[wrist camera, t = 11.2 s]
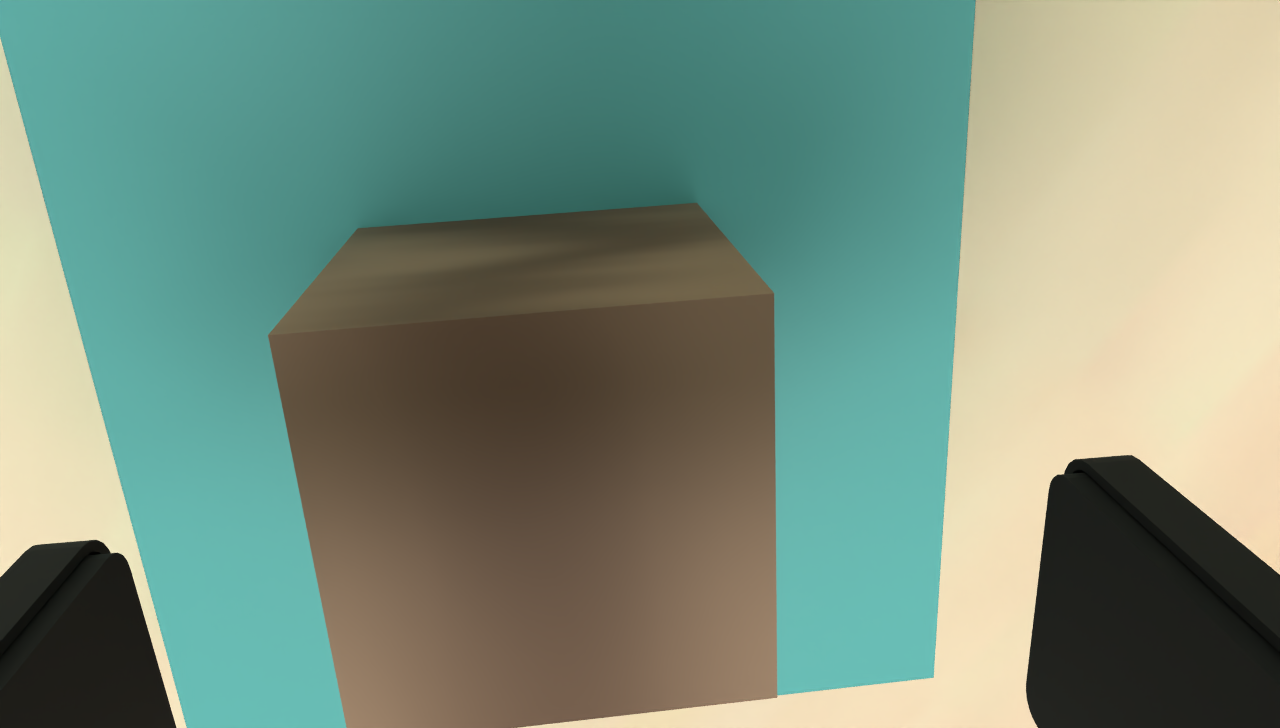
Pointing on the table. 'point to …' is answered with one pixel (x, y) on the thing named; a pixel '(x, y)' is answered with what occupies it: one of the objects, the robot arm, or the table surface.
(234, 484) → the teal base
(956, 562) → the table surface
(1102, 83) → the table surface
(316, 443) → the walnut cube
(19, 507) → the table surface
